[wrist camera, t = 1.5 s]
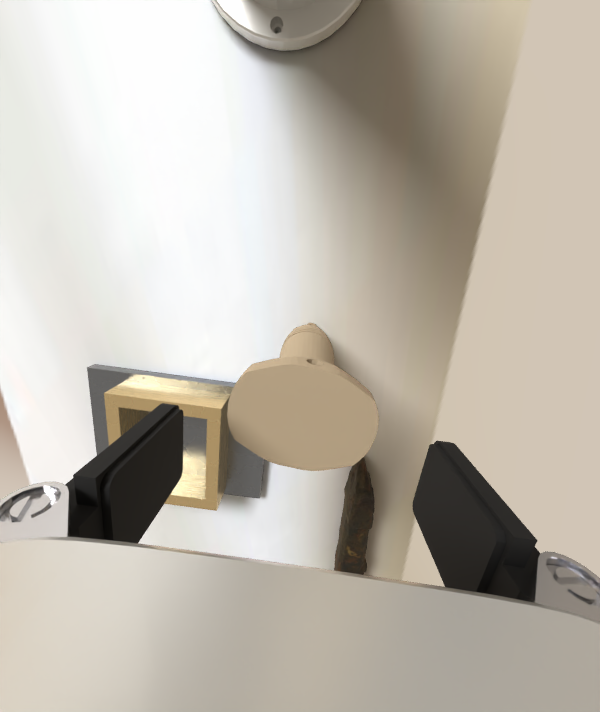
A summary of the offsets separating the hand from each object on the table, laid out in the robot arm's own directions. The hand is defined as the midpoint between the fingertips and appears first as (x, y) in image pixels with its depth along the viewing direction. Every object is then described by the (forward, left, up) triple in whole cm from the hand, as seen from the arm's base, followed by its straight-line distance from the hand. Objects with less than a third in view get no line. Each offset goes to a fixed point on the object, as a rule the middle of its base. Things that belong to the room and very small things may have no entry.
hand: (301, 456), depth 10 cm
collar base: (+11, -12, -17) cm, 23 cm away
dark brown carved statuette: (+20, +7, -17) cm, 28 cm away
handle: (-1, 0, -17) cm, 17 cm away
